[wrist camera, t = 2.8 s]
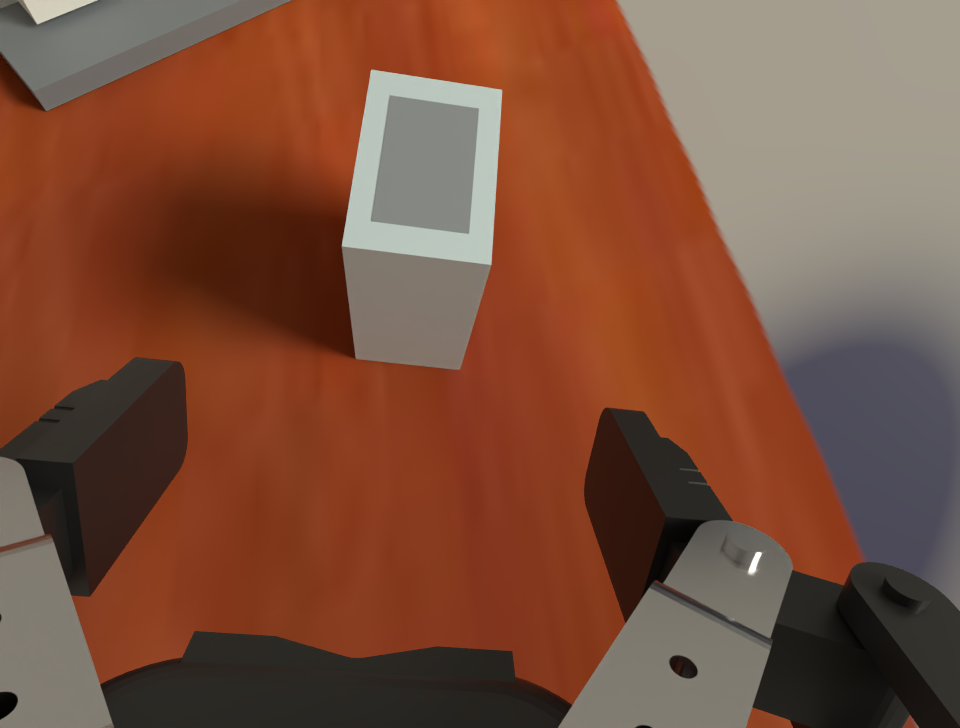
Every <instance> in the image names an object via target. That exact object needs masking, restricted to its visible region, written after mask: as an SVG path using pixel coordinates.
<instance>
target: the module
mask: <svg viewBox="0 0 960 728" xmlns="http://www.w3.org/2000/svg"><path fill="white" fill-rule="evenodd" d="M17 1H18V2H19V3H20V4H21V5H22V7H23V8H24V9H25V10H26V11H27V13H28V14H29V15H30V16H31V17H32V19H33V20H34V21H35V22H36V23H37V24H40V23H42V22H45V21H47V20H50V19H52V18H55V17H57V16H60V15H62V14H65V13H67V12H70V11H72V10H75V9H77V8H79V7H82V6H84V5H87V4H89V3H92V2H94V1H97V0H17Z"/></svg>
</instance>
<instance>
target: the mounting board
mask: <svg viewBox="0 0 960 728" xmlns="http://www.w3.org/2000/svg"><path fill="white" fill-rule="evenodd" d="M289 1H291V0H97V1H94V2H92V3H89V4H87V5H84V6H82V7H79V8H77V9H75V10H72V11H70V12H67V13H65V14H62V15H60V16H57V17H55V18H52V19H50V20H47V21H45V22H42V23H40V24H37V23H36V22H35V21H34V20H33V19H32V17H31V16H30V15H29V14H28V13H27V11H26V10H25V9H24V8H23V7H22V5H21V4H20V3H19V2H18V1H17V0H0V54H1V55H2V57H3V58H4V59H5V60H6V62H7V63H8V64H9V65H10V67H11V68H12V69H13V70H14V72H15V73H16V74H17V75H18V77H19V78H20V79H21V80H22V82H23V83H24V84H25V85H26V87H27V88H28V89H29V90H30V92H31V93H32V94H33V95H34V97H35V98H36V99H37V100H38V102H39V103H40V104H41V105H42V107H43V108H44V109H45V110H46V111H48V110H50V109H53V108H55V107H57V106H59V105H62V104H64V103H66V102H68V101H70V100H73V99H75V98H77V97H79V96H81V95H84V94H86V93H88V92H90V91H92V90H95V89H97V88H99V87H101V86H103V85H106V84H108V83H110V82H112V81H115V80H117V79H119V78H121V77H123V76H126V75H128V74H130V73H132V72H134V71H137V70H139V69H141V68H143V67H145V66H148V65H150V64H152V63H154V62H156V61H159V60H161V59H163V58H165V57H168V56H170V55H172V54H174V53H176V52H179V51H181V50H183V49H185V48H187V47H190V46H192V45H194V44H196V43H198V42H201V41H203V40H205V39H207V38H209V37H212V36H214V35H216V34H218V33H221V32H223V31H225V30H227V29H229V28H232V27H234V26H236V25H238V24H240V23H243V22H245V21H247V20H249V19H251V18H254V17H256V16H258V15H260V14H263V13H265V12H267V11H269V10H271V9H274V8H276V7H278V6H280V5H282V4H285V3H287V2H289Z"/></svg>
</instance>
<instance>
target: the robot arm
mask: <svg viewBox="0 0 960 728" xmlns="http://www.w3.org/2000/svg"><path fill="white" fill-rule="evenodd" d="M187 441H188V432H187V410H186V388H185V373H184V368H183V366H182V364H181V363H180V362H176V361H166V360H157V359H147V358H138V357H136V358H134V359H132V360H131V361H130V362H129V363H127V364H126V365H125V366H124V367H123V368H122V369H120V370H119V371H118V372H117V373H116V374H115V375H113V376H112V377H111V378H110V379H109V380H99V381H97V382H94V383H92V384H90V385H87V386H85V387H82V388H80V389H77V390H75V391H73V392H71V393H70V394H69V395H68V396H66V397H65V398H64V399H63V400H61V401H60V402H59V403H58V404H56V405H55V408H54V409H50V410H49V411H48V412H46V413H45V414H44V415H43V416H41V417H40V418H39V422H37V421H35V422H34V423H33V424H31V425H30V426H29V427H28V428H26V429H25V430H24V431H23V432H21V433H20V434H19V435H18V436H16V437H15V438H14V439H13V440H11V441H10V442H9V443H8V444H6V445H5V446H4V447H3V448H1V449H0V728H746V725H747V722H748V719H749V716H750V713H751V709H752V707H754V708H756V709H759V710H762V711H765V712H768V713H771V714H774V715H777V716H780V717H783V718H786V719H789V720H790V721H791V724H792V726H793V728H903V726H904V724H905V722H906V721H907V719H908V717H909V716H910V715H911V716H912V718H913V719H914V721H915V722H916V724H917V725H918V726H919V728H960V611H959V610H958V609H957V608H956V607H955V606H954V604H953V603H952V602H951V601H950V600H949V599H948V598H947V597H946V596H945V595H943V594H942V593H941V592H940V591H939V590H937V589H936V588H935V587H933V586H932V585H930V584H929V583H927V582H926V581H924V580H922V579H921V578H919V577H917V576H915V575H913V574H911V573H909V572H906V571H904V570H902V569H899V568H896V567H893V566H889V565H886V564H881V563H874V562H865V563H860V564H857V565H855V566H854V567H853V568H852V569H851V571H850V573H849V576H848V578H847V580H846V582H845V584H844V585H840V584H837V583H833V582H830V581H826V580H823V579H820V578H816V577H813V576H809V575H806V574H803V573H800V572H797V571H794V570H792V562H791V559H790V557H789V555H788V554H787V553H786V551H785V550H784V549H783V548H782V547H781V546H780V545H779V544H778V543H777V542H776V541H774V540H773V539H772V538H770V537H769V536H767V535H765V534H764V533H762V532H760V531H758V530H756V529H754V528H752V527H749V526H747V525H744V524H741V523H737V522H733V520H732V519H731V517H730V516H729V514H728V513H727V511H726V510H725V508H724V507H723V505H722V504H721V502H720V501H719V499H718V498H717V496H716V495H715V493H714V492H713V490H712V489H711V487H710V486H708V485H707V481H706V480H705V479H704V477H703V476H702V474H701V473H700V472H698V468H697V467H696V465H695V464H694V462H693V461H692V459H691V458H690V456H689V455H688V453H687V452H685V451H684V450H683V449H681V448H680V447H679V446H678V445H676V444H675V443H674V442H672V441H671V440H670V439H668V438H662V437H660V436H659V434H658V433H657V431H656V430H655V428H654V426H653V425H652V423H651V422H650V420H649V418H648V417H647V415H646V414H645V412H643V411H634V410H625V409H615V408H605V409H604V410H603V412H602V414H601V416H600V419H599V423H598V427H597V431H596V436H595V440H594V444H593V448H592V452H591V456H590V460H589V464H588V469H587V473H586V478H585V487H584V496H585V504H586V508H587V511H588V514H589V517H590V520H591V523H592V526H593V529H594V532H595V535H596V538H597V541H598V544H599V546H600V549H601V552H602V555H603V558H604V561H605V564H606V567H607V570H608V573H609V576H610V579H611V582H612V585H613V588H614V591H615V594H616V596H617V599H618V602H619V605H620V608H621V611H622V614H623V617H624V620H625V623H626V624H625V626H624V627H623V629H622V630H621V632H620V633H619V635H618V636H617V638H616V639H615V641H614V643H613V644H612V646H611V647H610V649H609V650H608V652H607V653H606V655H605V656H604V658H603V659H602V661H601V662H600V664H599V666H598V667H597V669H596V670H595V672H594V673H593V675H592V676H591V678H590V679H589V681H588V682H587V684H586V685H585V687H584V689H583V690H582V692H581V693H580V695H579V696H578V698H577V699H576V701H575V702H574V704H573V705H571V704H570V703H568V702H567V701H565V700H564V699H563V698H561V697H560V696H558V695H556V694H554V693H552V692H550V691H549V690H547V689H545V688H543V687H541V686H538V685H536V684H534V683H531V682H529V681H526V680H523V679H520V678H517V677H515V671H514V662H513V654H512V651H499V650H483V649H468V648H452V647H431V648H425V649H418V650H411V651H405V652H398V653H392V654H385V655H379V656H372V657H366V658H350V657H345V656H342V655H338V654H335V653H331V652H328V651H325V650H321V649H318V648H314V647H311V646H307V645H304V644H300V643H297V642H294V641H290V640H287V639H283V638H280V637H276V636H263V635H247V634H231V633H215V632H200V631H195V632H194V634H193V636H192V638H191V640H190V642H189V645H188V647H187V649H186V651H185V653H184V655H183V657H182V658H177V659H171V660H166V661H162V662H158V663H154V664H150V665H147V666H144V667H141V668H138V669H135V670H132V671H129V672H127V673H124V674H122V675H120V676H117V677H115V678H113V679H110V680H108V681H106V682H104V683H102V684H100V683H99V680H98V677H97V674H96V671H95V668H94V665H93V662H92V659H91V655H90V652H89V649H88V646H87V643H86V640H85V637H84V634H83V631H82V628H81V625H80V622H79V619H78V615H77V612H76V609H75V606H74V603H73V600H72V597H71V595H74V596H89V597H90V596H91V594H92V593H93V592H94V590H95V589H96V587H97V586H98V585H99V583H100V582H101V580H102V579H103V577H104V576H105V575H106V573H107V572H108V570H109V569H110V568H111V566H112V565H113V563H114V562H115V560H116V559H117V558H118V556H119V555H120V553H121V552H122V551H123V549H124V548H125V546H126V545H127V544H128V542H129V541H130V539H131V538H132V536H133V535H134V534H135V532H136V531H137V529H138V528H139V527H140V525H141V524H142V522H143V521H144V519H145V518H146V517H147V515H148V514H149V512H150V511H151V510H152V508H153V507H154V505H155V504H156V502H157V501H158V500H159V498H160V497H161V495H162V494H163V493H164V491H165V490H166V488H167V487H168V485H169V484H170V483H171V481H172V480H173V478H174V477H175V476H176V474H177V473H178V471H179V470H180V468H181V466H182V464H183V461H184V458H185V454H186V449H187Z"/></svg>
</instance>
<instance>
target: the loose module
mask: <svg viewBox="0 0 960 728" xmlns="http://www.w3.org/2000/svg"><path fill="white" fill-rule="evenodd" d="M501 101H502V90H500V89H493V88H487V87H480V86H474V85H467V84H461V83H454V82H448V81H441V80H435V79H428V78H422V77H415V76H409V75H402V74H396V73H389V72H383V71H376V70H371V75H370V81H369V87H368V93H367V99H366V105H365V111H364V116H363V122H362V128H361V134H360V140H359V146H358V152H357V158H356V164H355V170H354V176H353V182H352V188H351V194H350V200H349V206H348V212H347V218H346V224H345V230H344V236H343V242H342V253H343V261H344V269H345V277H346V285H347V293H348V301H349V309H350V317H351V325H352V333H353V341H354V349H355V357H356V359H361V360H371V361H380V362H389V363H399V364H408V365H417V366H427V367H436V368H445V369H455V370H460V368H461V365H462V361H463V358H464V355H465V351H466V348H467V345H468V341H469V338H470V334H471V331H472V328H473V324H474V321H475V318H476V314H477V311H478V308H479V304H480V301H481V298H482V294H483V291H484V288H485V284H486V281H487V277H488V274H489V271H490V267H491V261H492V245H493V229H494V213H495V197H496V181H497V165H498V149H499V133H500V117H501Z"/></svg>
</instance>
